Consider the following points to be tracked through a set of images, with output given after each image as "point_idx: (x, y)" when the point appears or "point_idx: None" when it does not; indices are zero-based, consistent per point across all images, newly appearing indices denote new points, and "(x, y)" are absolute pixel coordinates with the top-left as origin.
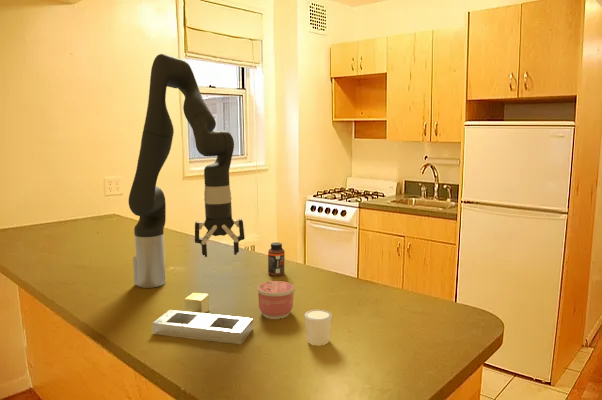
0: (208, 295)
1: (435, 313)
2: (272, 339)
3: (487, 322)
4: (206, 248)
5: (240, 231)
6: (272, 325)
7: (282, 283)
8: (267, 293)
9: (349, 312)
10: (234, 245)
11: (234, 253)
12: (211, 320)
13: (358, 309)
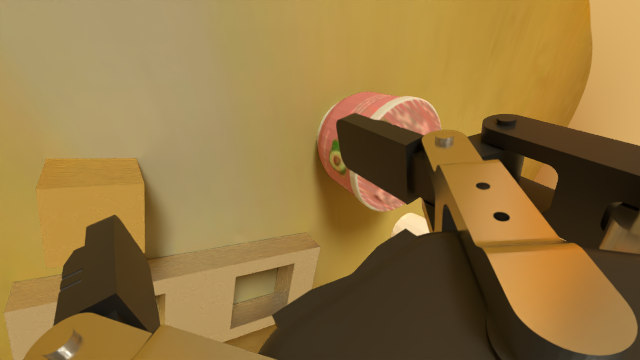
0: (143, 184)
1: (553, 81)
2: (343, 254)
3: (573, 105)
4: (156, 319)
5: (552, 226)
6: (341, 201)
7: (420, 122)
8: (379, 210)
9: (469, 97)
10: (394, 191)
11: (351, 169)
12: (224, 301)
13: (485, 78)
